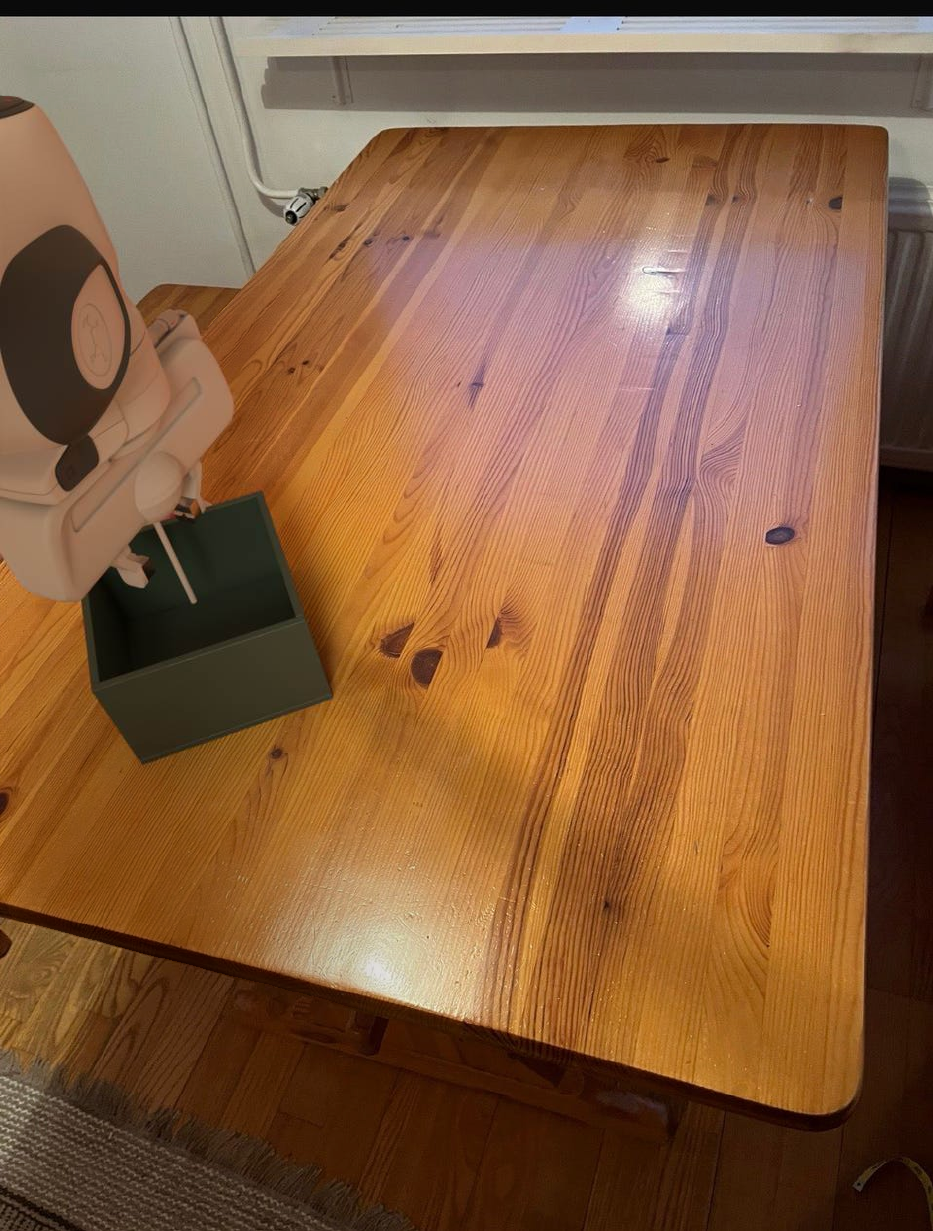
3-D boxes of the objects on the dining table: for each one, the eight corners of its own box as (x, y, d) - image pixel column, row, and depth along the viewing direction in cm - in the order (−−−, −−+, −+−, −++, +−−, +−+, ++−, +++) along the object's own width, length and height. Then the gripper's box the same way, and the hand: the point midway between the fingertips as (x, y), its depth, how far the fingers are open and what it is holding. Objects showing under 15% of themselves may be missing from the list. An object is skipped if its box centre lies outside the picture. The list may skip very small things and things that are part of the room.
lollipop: (139, 622, 70) (53, 470, 59) (178, 567, 74) (104, 413, 62) (211, 638, 68) (136, 484, 57) (247, 580, 72) (184, 425, 61)
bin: (333, 698, 73) (305, 620, 66) (142, 765, 71) (91, 691, 63) (290, 570, 83) (262, 489, 75) (120, 625, 80) (74, 547, 73)
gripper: (144, 289, 63) (206, 449, 73) (-66, 485, 51) (44, 642, 62) (223, 300, 61) (275, 462, 72) (24, 506, 49) (121, 664, 60)
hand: (167, 547), depth 66 cm, fingers closed on lollipop, 5 cm apart
